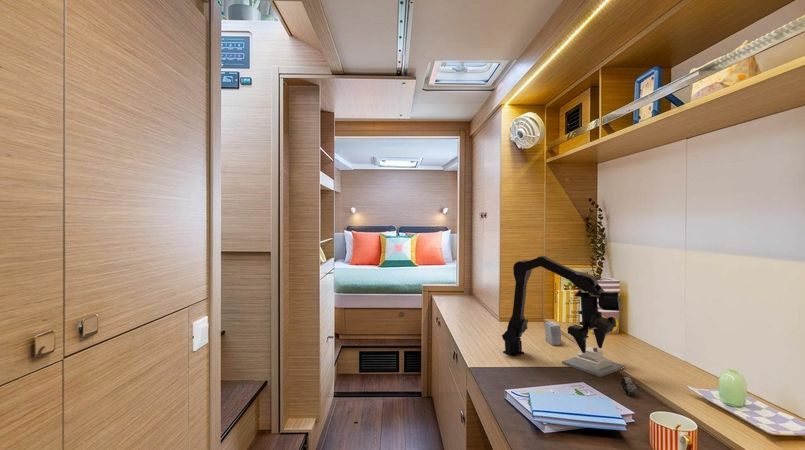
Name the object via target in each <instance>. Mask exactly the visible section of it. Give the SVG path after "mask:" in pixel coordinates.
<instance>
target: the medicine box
mask: <svg viewBox="0 0 805 450" xmlns="http://www.w3.org/2000/svg"><path fill="white" fill-rule="evenodd" d="M544 333H545V341H546V342H548V343H549V344H550V345H551V346H562V343H563V342H562V333H561V325H560V324H558V323H556V322H555V321H545V322H544Z"/></svg>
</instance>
